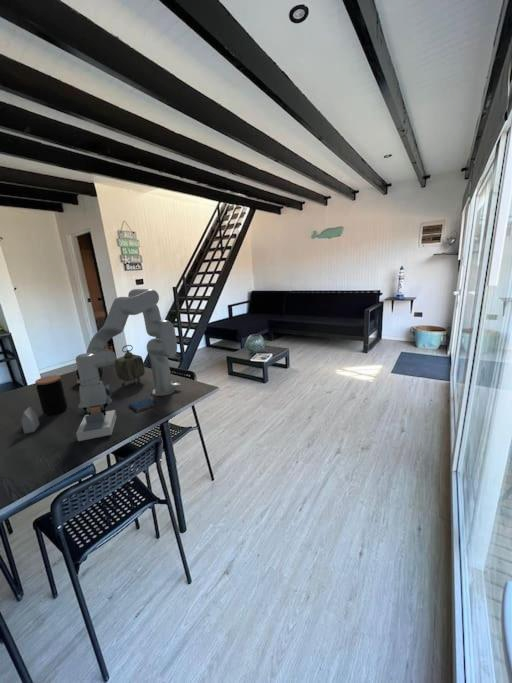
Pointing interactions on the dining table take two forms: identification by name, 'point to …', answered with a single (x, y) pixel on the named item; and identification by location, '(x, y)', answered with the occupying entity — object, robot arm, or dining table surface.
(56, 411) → the coffee jar
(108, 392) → the small box
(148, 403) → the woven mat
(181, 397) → the dining table surface
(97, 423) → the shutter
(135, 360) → the tabletop clock
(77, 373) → the squash
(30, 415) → the grey faceted stone
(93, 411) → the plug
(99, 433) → the socket block
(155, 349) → the robot arm
